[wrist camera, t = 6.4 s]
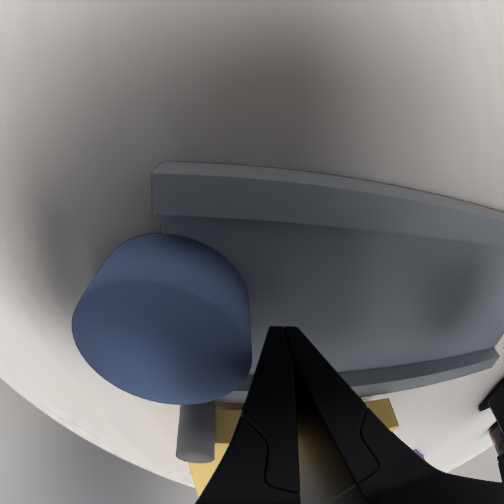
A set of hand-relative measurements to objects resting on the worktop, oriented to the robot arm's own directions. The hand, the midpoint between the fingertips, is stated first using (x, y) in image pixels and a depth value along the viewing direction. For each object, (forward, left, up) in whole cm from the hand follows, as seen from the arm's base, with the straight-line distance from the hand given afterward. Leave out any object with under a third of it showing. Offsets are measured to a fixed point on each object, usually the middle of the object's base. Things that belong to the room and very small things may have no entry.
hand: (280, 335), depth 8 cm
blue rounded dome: (+3, 0, -1) cm, 4 cm away
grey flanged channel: (-6, 0, -2) cm, 6 cm away
